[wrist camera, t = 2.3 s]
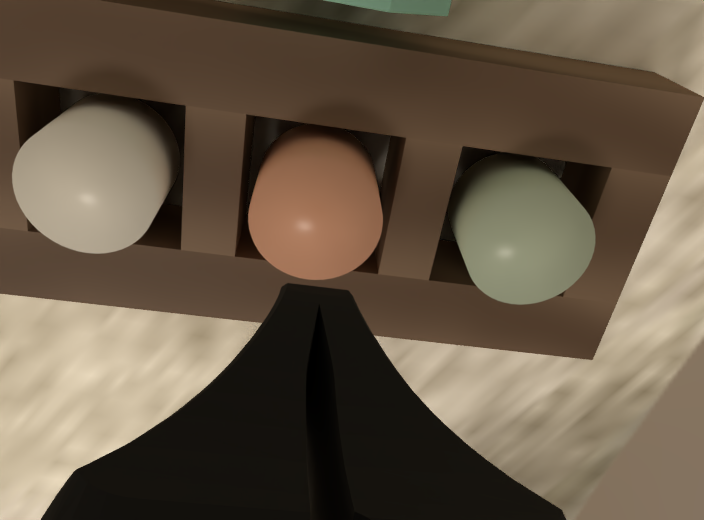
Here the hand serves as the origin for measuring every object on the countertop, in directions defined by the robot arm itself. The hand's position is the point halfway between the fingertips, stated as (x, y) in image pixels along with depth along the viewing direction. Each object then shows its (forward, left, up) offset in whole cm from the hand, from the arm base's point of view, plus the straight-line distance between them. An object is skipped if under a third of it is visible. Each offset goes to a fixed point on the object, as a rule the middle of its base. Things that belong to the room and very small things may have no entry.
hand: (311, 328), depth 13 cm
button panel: (0, 0, -9) cm, 9 cm away
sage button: (0, -6, -8) cm, 10 cm away
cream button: (0, +6, -8) cm, 10 cm away
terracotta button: (0, 0, -8) cm, 8 cm away
